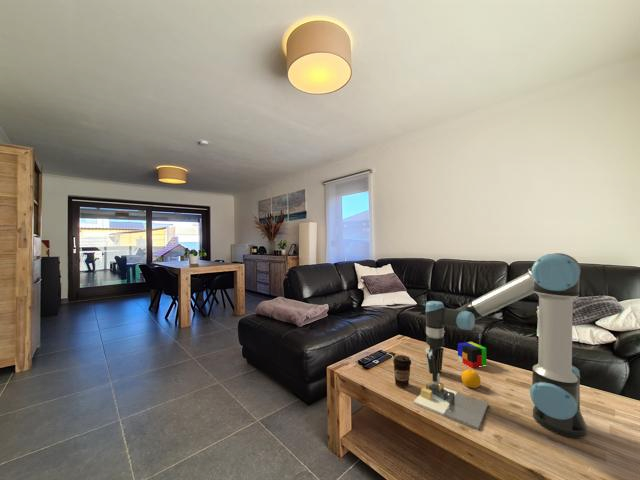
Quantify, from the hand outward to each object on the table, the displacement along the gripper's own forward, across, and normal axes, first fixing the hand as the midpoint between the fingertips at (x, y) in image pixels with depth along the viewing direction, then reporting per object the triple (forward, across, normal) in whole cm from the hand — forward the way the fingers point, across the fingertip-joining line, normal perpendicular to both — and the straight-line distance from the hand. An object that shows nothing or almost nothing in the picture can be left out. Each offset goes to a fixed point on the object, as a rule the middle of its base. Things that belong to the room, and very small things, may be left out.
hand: (436, 387), depth 120 cm
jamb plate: (+3, -4, -14) cm, 15 cm away
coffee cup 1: (+2, -6, +14) cm, 15 cm away
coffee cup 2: (+3, +19, +10) cm, 22 cm away
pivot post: (+2, -4, -8) cm, 9 cm away
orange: (+3, +18, -9) cm, 20 cm away
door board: (+2, -5, -2) cm, 6 cm away
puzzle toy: (+3, +44, -1) cm, 44 cm away
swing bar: (+1, -3, -2) cm, 3 cm away
